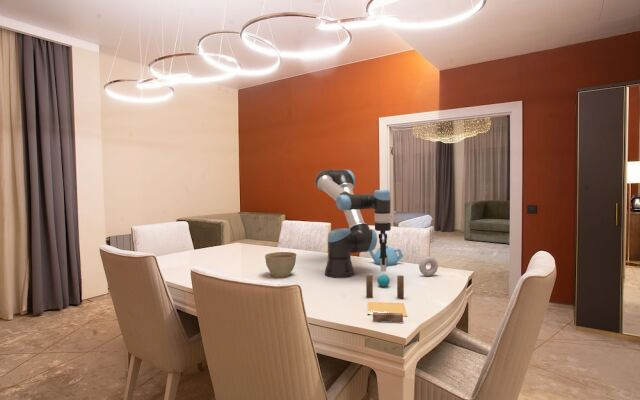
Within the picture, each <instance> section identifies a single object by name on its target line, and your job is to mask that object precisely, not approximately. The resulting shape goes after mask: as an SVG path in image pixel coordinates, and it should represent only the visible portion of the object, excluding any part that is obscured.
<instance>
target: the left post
mask: <svg viewBox="0 0 640 400" xmlns="http://www.w3.org/2000/svg"><path fill="white" fill-rule="evenodd" d="M365 278H366V279H365V280H366V281H365V282H366V283H365V284H366V285H365V288H366V290H365V292H366V293H365V294H366V296H365V297H366V298H367V299H372V298H373V297H374V293H373V291H374V290H373V287H374V285H373V283H374V282H373V275H372V274H366V275H365Z"/></svg>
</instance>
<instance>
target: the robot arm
mask: <svg viewBox="0 0 640 400" xmlns="http://www.w3.org/2000/svg"><path fill="white" fill-rule="evenodd" d="M355 179H356V177H355V174H354V173H353V172H352V170H349V169H343V168H342V169H324V170H323V169H322V170H321V171H320V172H318V173H317V174H316V176H315V179H314V185H315V187H316V188H317V189H318V190H319V191H321V192H324V193H325V194H327V195H328V196H329V197H331V199H333V200H334V202H335V204H336V207H337V209H338V210H340V211H343V213H344V215H345V219H346V221H347V224H348V227H349V228H345V227H343V228H335V229H332V230H331V231H329V232H328V233H327V262H326V265H325V269H324V275H325V276H326V277H330V278H339V279H340V278H341V279H342V278H349V277H352V276H354V275H355V269H354V266H353V263H352V260H351V254H357V253H368V252H369V251H372V252H373V251H374V249H376V246H377V243H378V241H379V245H380V246H379V248H380V257H379V258H380V265H379V266H380V272H383V273H385V272H387V266H386V257H387V256H386V245H388V244H387V243H388V241H387V240H388V234H387V233H386V232H390V231H391V230H392V226H391V218H392V217H393V216H392V214H391V192H390V190H388V189H375V191H374V192H373V193H362V194H360V193H359V194H358V193H357V194H355V193H354V187H355V185H356V180H355ZM361 210H374V222H375V223H374V229H372V228H370V226H369V224H368V223H365V221H364V219H363V216H362V215H363V214H362V212H361ZM377 232H379V233H378V235H377Z"/></svg>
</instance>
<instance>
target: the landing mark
mask: <svg viewBox="0 0 640 400" xmlns="http://www.w3.org/2000/svg"><path fill="white" fill-rule="evenodd" d="M371 310H372V312H373V310H374V311H378V312H379V311H380V312H384V311H385V312H386V311H387V313H388V312H389V313H402V314H403V317H408V314H407V310H406V306H405V302H384V301H383V302H380V301H368V302H367V310H366V311H370V312H371Z"/></svg>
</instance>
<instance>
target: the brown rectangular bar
mask: <svg viewBox="0 0 640 400" xmlns="http://www.w3.org/2000/svg"><path fill="white" fill-rule="evenodd" d="M373 321H392V322H391V323H398V322H403V323H404V316H403V314H402V313H378V312H373V315H372V322H373Z"/></svg>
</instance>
